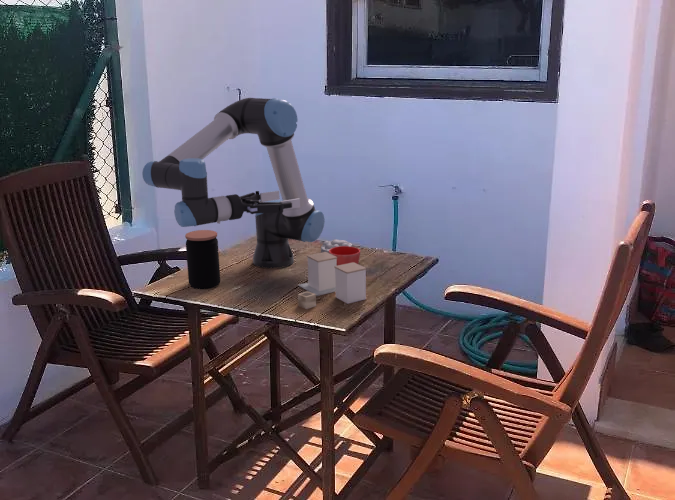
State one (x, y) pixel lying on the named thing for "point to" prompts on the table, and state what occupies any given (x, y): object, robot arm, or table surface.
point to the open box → (307, 300)
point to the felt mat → (312, 290)
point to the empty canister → (350, 282)
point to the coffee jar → (202, 259)
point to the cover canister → (321, 271)
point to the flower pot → (345, 254)
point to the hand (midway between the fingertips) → (289, 198)
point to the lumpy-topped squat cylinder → (333, 245)
